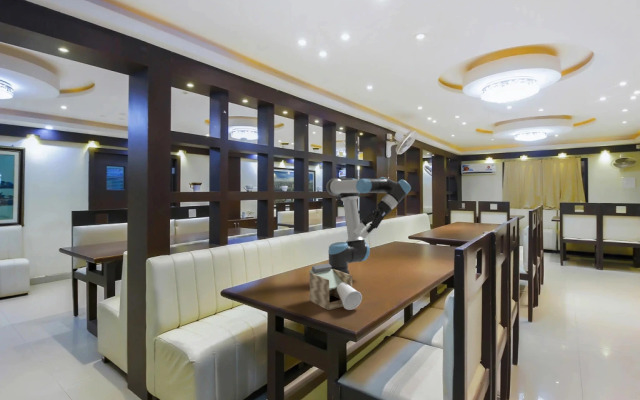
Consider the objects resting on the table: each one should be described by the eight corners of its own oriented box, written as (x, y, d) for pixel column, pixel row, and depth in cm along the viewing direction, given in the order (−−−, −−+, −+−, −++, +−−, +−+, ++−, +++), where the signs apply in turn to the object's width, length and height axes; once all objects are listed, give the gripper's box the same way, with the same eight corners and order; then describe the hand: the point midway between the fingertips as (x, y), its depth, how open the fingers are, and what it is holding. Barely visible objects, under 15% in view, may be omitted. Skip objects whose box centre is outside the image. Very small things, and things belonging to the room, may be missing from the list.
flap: (309, 271, 161) (310, 266, 160) (329, 268, 168) (330, 262, 167) (324, 291, 150) (326, 285, 149) (345, 286, 157) (346, 281, 155)
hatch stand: (309, 300, 159) (309, 273, 159) (333, 295, 167) (333, 268, 167) (328, 310, 146) (327, 280, 145) (352, 303, 154) (352, 275, 153)
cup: (352, 291, 158) (363, 304, 148) (334, 299, 155) (344, 313, 145) (349, 275, 154) (360, 287, 144) (331, 283, 151) (341, 296, 141)
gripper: (401, 211, 151) (371, 243, 149) (383, 208, 175) (357, 236, 173) (390, 200, 150) (360, 232, 148) (374, 199, 174) (347, 227, 172)
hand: (358, 235), depth 161 cm, fingers open, 13 cm apart
